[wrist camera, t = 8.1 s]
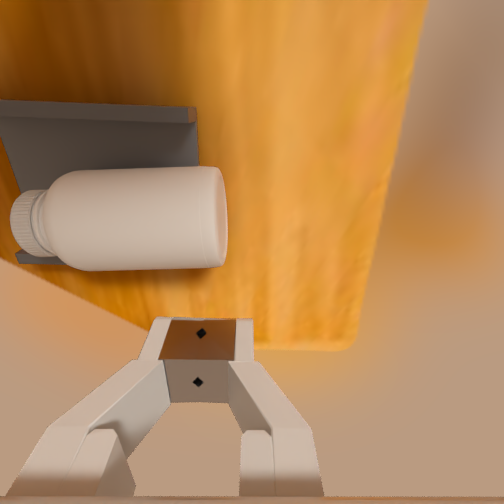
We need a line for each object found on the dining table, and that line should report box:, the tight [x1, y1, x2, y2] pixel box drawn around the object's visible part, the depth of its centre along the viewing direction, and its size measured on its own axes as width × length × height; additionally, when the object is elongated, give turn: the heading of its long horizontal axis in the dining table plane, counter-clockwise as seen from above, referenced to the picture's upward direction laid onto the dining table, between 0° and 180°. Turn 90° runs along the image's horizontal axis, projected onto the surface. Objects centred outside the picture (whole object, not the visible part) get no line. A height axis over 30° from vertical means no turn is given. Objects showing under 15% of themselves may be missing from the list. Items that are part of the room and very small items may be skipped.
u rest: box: [0, 99, 199, 265], centre depth 24 cm, size 13×16×4 cm
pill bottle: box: [10, 166, 228, 271], centre depth 22 cm, size 8×8×15 cm
